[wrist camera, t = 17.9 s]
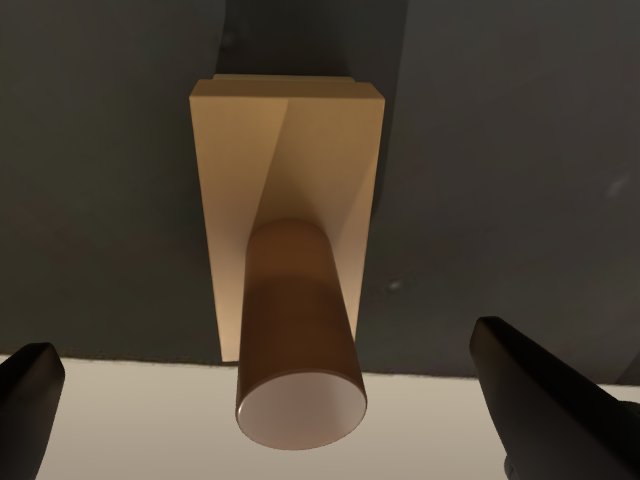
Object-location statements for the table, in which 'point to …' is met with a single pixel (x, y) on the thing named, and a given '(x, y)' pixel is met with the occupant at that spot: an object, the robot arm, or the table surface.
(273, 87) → the brush
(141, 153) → the table surface
